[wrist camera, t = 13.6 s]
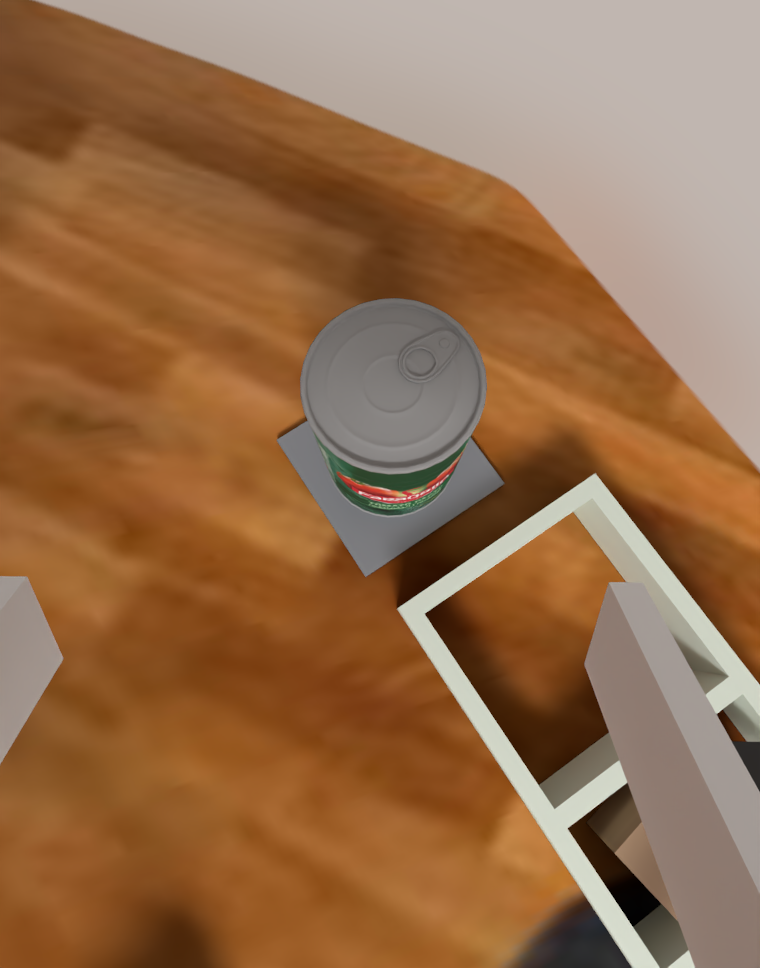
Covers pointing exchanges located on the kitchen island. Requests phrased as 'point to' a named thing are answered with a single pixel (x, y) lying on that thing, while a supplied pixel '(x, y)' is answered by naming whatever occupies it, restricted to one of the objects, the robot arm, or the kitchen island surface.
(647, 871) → the walnut block
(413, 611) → the caddy
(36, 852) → the kitchen island surface
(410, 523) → the slate coaster
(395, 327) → the canned tomato
